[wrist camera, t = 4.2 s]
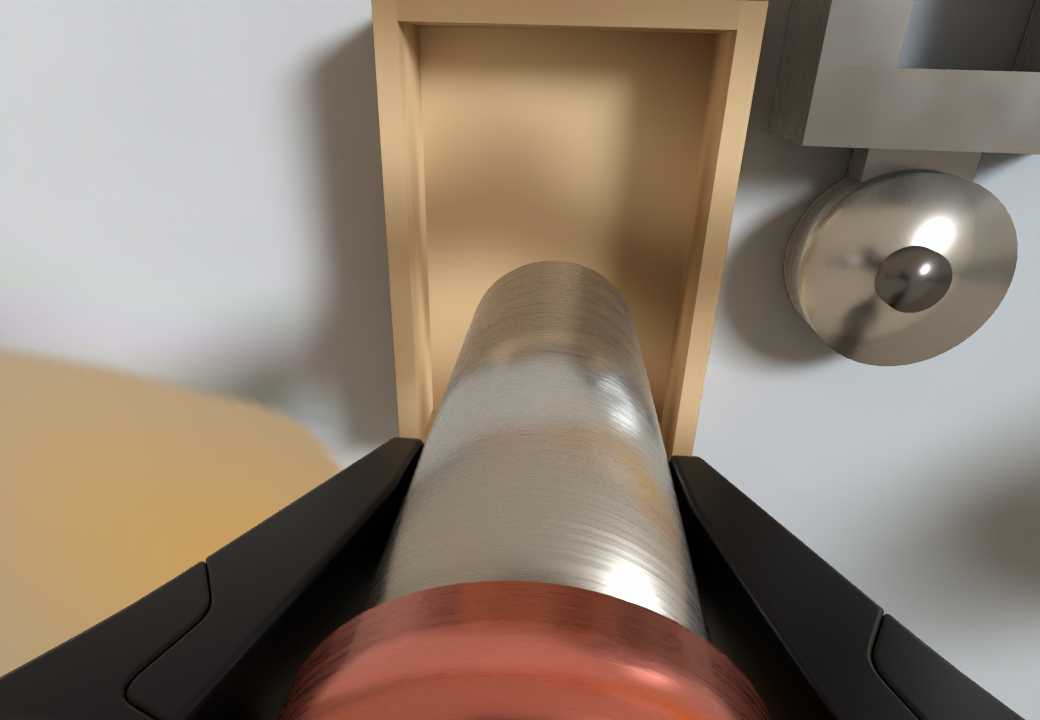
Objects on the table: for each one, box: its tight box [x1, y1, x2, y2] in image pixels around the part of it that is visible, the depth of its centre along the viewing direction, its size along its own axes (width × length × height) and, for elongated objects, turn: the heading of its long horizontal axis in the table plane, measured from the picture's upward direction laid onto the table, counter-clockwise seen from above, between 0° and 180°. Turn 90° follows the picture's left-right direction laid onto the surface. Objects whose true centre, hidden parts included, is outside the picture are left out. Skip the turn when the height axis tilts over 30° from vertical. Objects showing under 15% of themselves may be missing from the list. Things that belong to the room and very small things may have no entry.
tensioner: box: [768, 0, 1040, 366], centre depth 17 cm, size 14×8×3 cm, turn 178°
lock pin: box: [276, 261, 771, 720], centre depth 9 cm, size 4×4×10 cm
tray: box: [371, 0, 769, 460], centre depth 19 cm, size 13×9×3 cm
